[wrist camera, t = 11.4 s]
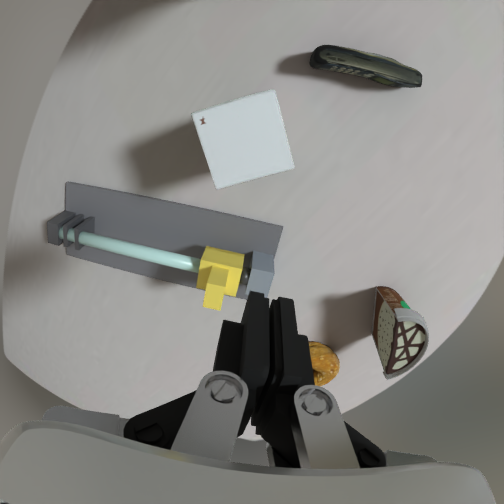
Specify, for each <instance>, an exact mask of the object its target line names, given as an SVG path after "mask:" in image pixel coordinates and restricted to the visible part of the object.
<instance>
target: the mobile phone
mask: <svg viewBox="0 0 504 504" xmlns="http://www.w3.org/2000/svg"><path fill="white" fill-rule="evenodd" d="M310 66H311V67H313V68H316V69H324V70H330V71H336V72H342V73H347V74H352V75H357V76H361V77H364V78H368V79H370V80H373V81H376V82H378V83H381V84H385V85H390V86H397V87H409V88H413V87H421V85H422V74H421V73H420V72H419V71H417V70H416V69H414V68H411V67H408V66H405V65H403V64H401V63H399V62H398V61H396V60H394V59H392V58H388V57H385V56H381V55H378V54H374V53H368V52H363V51H359V50H355V49H350V48H345V47H339V46H333V45H322V46H319V47H317V48H316V49H315V50H314V52H313V53H312V55H311V59H310Z"/></svg>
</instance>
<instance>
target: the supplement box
mask: <svg viewBox="0 0 504 504" xmlns="http://www.w3.org/2000/svg"><path fill="white" fill-rule="evenodd" d="M191 117H192V120H193V123H194V126H195V129H196V131H197V134H198V137H199V140H200V143H201V146H202V149H203V152H204V155H205V157H206V160H207V163H208V166H209V169H210V172H211V175H212V178H213V181H214V184H215V187H216V189H222V188H226V187H229V186H233V185H236V184H240V183H244V182H247V181H251V180H255V179H258V178H262V177H266V176H269V175H273V174H277V173H281V172H284V171H288V170H292V169H294V168H295V167H294V163H293V158H292V154H291V150H290V146H289V142H288V138H287V134H286V130H285V126H284V122H283V118H282V114H281V111H280V107H279V103H278V99H277V96H276V92H275V90H273V89H271V90H267V91H263V92H259V93H255V94H252V95H248V96H244V97H241V98H237V99H234V100H230V101H227V102H224V103H221V104H218V105H215V106H212V107H209V108H205V109H202V110H199V111H196V112H193V113H191Z"/></svg>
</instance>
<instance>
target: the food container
mask: <svg viewBox="0 0 504 504" xmlns="http://www.w3.org/2000/svg"><path fill="white" fill-rule="evenodd" d="M371 334H372V336H373V339H374V342H375V345H376V348H377V351H378V354H379V357H380V360H381V363H382V366H383V369H384V372H383V374H384V376H385V378H386V379H387V380H388V379H392V378H395V377H397V376H399V375H402V374H403V373H405V372H407V371H408V370H410V369H411V368H412V367H414V366H415V365H416V364H417V363H418V362H419V360H420V359H421V358H422V357H423V355H424V353H425V351H426V349H427V346H428V342H429V333H428V328H427V325H426V322H425V320H424V318H423V317H422V315H421V314H419V313H418V312H416V311H414V310H412V309H410V307H409V306H408V305H407V304H406V302H405V301H404V300H403V299H402V298H401V296H400V295H399V294H398V293H397V292H396V291H395V290H393V289H391V288H389V287H384V286H378V287H376V292H375V304H374V314H373V324H372V333H371Z"/></svg>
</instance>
